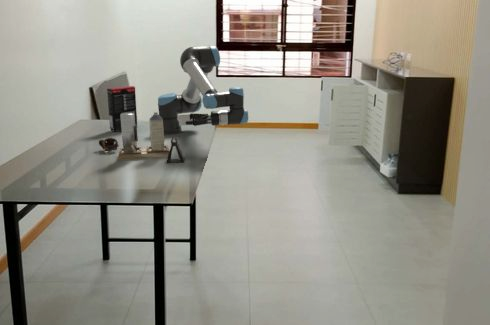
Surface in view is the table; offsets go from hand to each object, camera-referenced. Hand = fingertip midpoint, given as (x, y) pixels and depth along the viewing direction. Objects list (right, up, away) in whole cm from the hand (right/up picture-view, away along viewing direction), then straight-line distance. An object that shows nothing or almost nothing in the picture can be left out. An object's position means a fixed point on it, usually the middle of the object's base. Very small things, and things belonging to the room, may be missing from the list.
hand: (178, 120), depth 272 cm
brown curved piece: (-39, -16, +13) cm, 44 cm away
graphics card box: (-43, -1, +66) cm, 79 cm away
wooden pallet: (-17, -19, 0) cm, 25 cm away
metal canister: (-24, -17, -1) cm, 30 cm away
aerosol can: (-11, -16, +1) cm, 19 cm away
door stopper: (0, -22, -11) cm, 24 cm away
